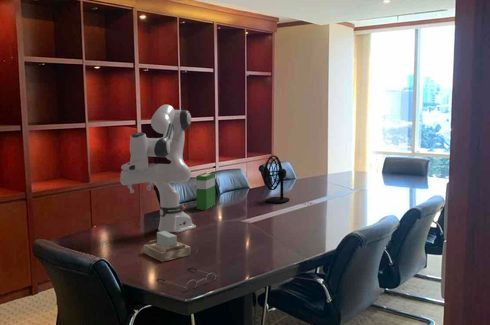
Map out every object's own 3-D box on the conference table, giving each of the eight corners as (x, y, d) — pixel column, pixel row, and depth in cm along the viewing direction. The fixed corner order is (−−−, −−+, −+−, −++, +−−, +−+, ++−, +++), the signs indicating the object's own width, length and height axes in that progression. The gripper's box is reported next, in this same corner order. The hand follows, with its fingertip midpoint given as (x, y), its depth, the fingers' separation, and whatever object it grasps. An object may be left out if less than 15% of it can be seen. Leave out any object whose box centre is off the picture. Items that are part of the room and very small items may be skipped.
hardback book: (205, 204, 351) (205, 172, 348) (215, 205, 349) (214, 172, 346) (196, 209, 334) (196, 176, 331) (206, 210, 332) (206, 176, 329)
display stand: (171, 246, 246) (171, 236, 246) (190, 254, 233) (190, 243, 232) (143, 252, 236) (143, 242, 235) (162, 261, 223) (162, 250, 222)
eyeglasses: (185, 292, 187) (185, 283, 186) (156, 282, 199) (155, 273, 199) (218, 280, 200) (217, 271, 200) (188, 271, 213) (187, 262, 212)
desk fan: (273, 197, 379) (274, 153, 375) (294, 199, 371) (294, 154, 367) (258, 203, 356) (258, 156, 352) (279, 205, 347) (279, 158, 343)
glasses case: (165, 242, 240) (164, 230, 239) (176, 247, 231) (176, 235, 230) (157, 243, 237) (156, 232, 237) (168, 249, 228) (168, 237, 227)
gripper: (153, 162, 250) (154, 187, 252) (118, 166, 237) (119, 193, 239) (160, 163, 246) (161, 189, 248) (124, 167, 232) (125, 195, 234)
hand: (140, 191), depth 243 cm, fingers open, 8 cm apart
